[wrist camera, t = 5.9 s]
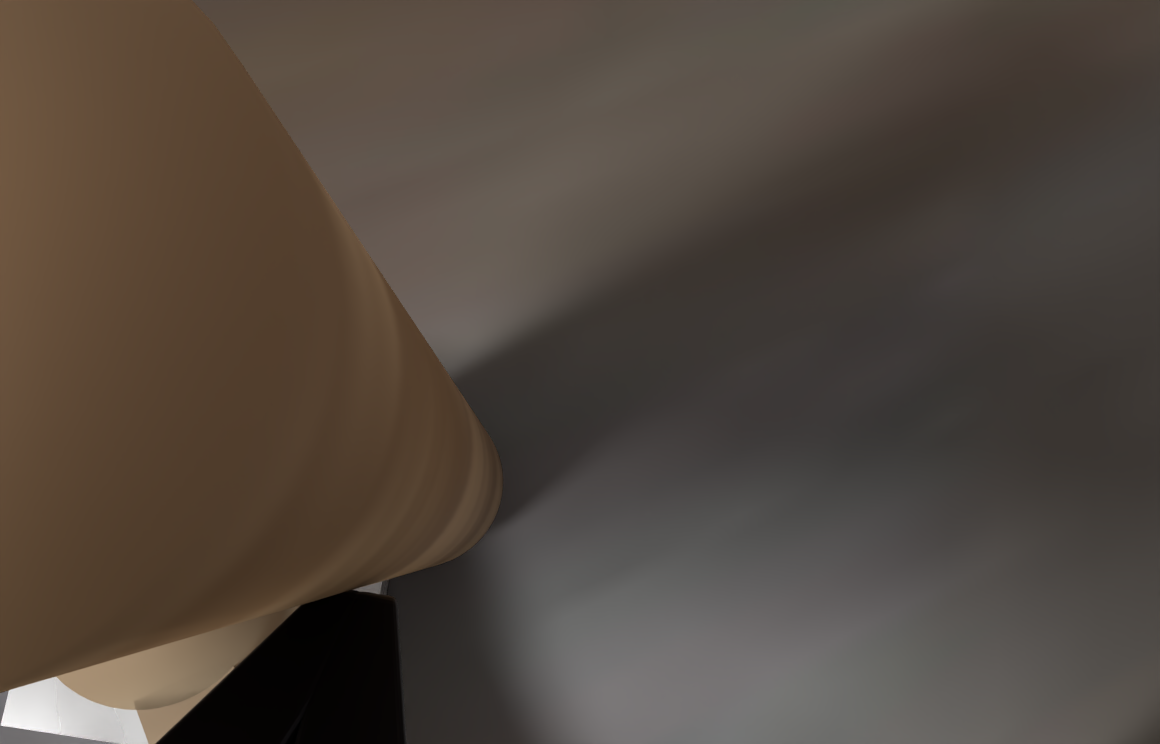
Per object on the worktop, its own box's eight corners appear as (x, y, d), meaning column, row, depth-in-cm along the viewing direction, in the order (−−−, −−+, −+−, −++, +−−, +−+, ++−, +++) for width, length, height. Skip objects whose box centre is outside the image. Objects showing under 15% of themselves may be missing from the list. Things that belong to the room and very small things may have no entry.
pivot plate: (102, 389, 18) (84, 384, 17) (414, 438, 18) (409, 434, 17) (23, 717, 17) (0, 725, 16) (354, 768, 17) (346, 778, 16)
